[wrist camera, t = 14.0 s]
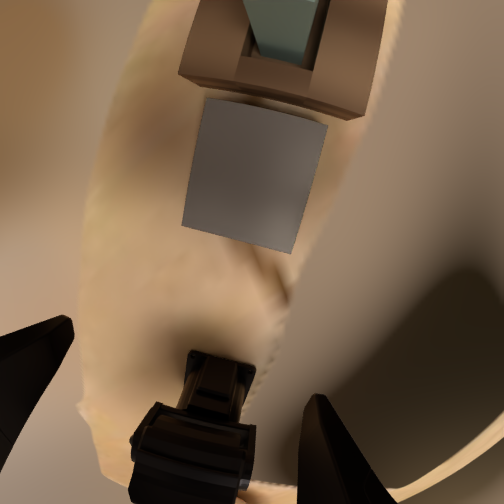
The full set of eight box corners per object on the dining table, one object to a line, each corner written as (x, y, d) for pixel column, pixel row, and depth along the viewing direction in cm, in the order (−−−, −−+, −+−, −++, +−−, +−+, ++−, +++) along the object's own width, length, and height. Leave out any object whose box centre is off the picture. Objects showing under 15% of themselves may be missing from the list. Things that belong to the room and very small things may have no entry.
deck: (290, 237, 20) (290, 254, 18) (195, 213, 20) (181, 225, 18) (321, 127, 17) (328, 125, 14) (218, 103, 17) (206, 97, 14)
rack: (346, 120, 17) (364, 115, 13) (200, 86, 17) (177, 74, 13) (373, -5, 12) (391, -32, 8) (239, -34, 13) (228, -65, 8)
